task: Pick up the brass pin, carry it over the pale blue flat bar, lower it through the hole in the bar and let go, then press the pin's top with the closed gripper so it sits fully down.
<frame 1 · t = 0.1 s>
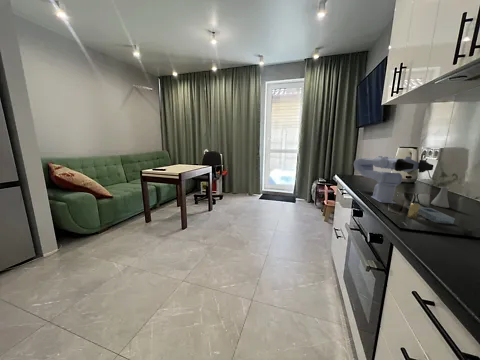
hand: (422, 166, 84), 22 cm above the counter, tool horizontal, fingers open, 7 cm apart
pale blue flat bar: (428, 215, 90), on the counter
flask: (439, 206, 105), on the counter
brass pin: (411, 217, 86), on the counter
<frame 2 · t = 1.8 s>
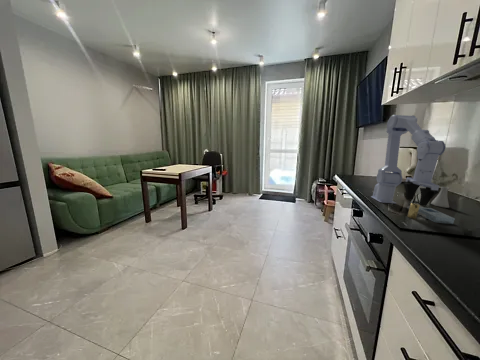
hand: (415, 202, 84), 7 cm above the counter, tool pointing down, fingers open, 7 cm apart
nothing on the counter moved.
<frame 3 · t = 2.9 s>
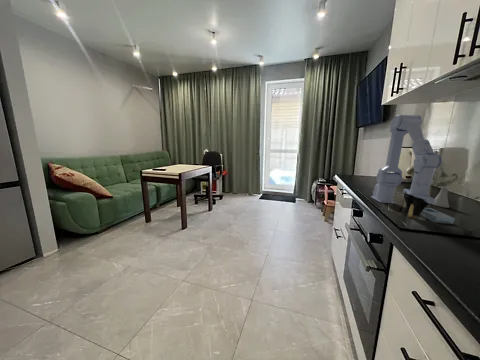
hand: (412, 213, 86), 2 cm above the counter, tool pointing down, fingers closed on brass pin, 3 cm apart
brass pin: (411, 217, 86), on the counter, touching gripper
everything else where it was.
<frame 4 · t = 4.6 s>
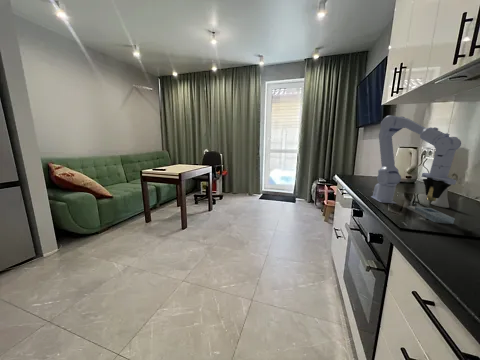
hand: (432, 196, 87), 9 cm above the counter, tool pointing down, fingers closed on brass pin, 3 cm apart
brass pin: (430, 200, 88), point 7 cm above the counter, touching gripper
everything else where it was.
when the fingers open (3 cm above the counter, at t = 6.1 s): brass pin drops 2 cm, resting in pale blue flat bar.
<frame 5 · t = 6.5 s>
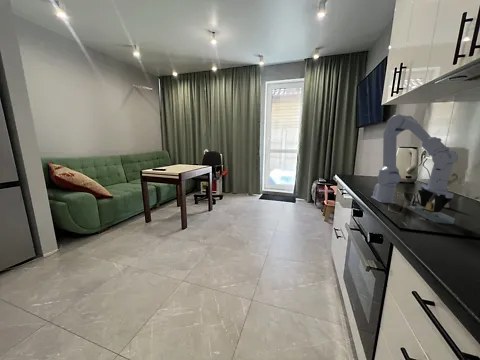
hand: (429, 208, 89), 3 cm above the counter, tool pointing down, fingers open, 6 cm apart
brass pin: (427, 215, 90), resting in pale blue flat bar
everything else where it was.
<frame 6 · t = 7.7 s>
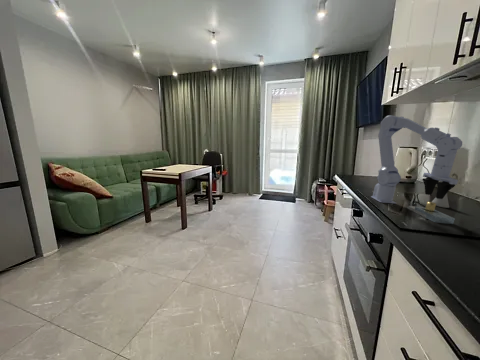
hand: (433, 196, 88), 9 cm above the counter, tool pointing down, fingers open, 5 cm apart
nothing on the counter moved.
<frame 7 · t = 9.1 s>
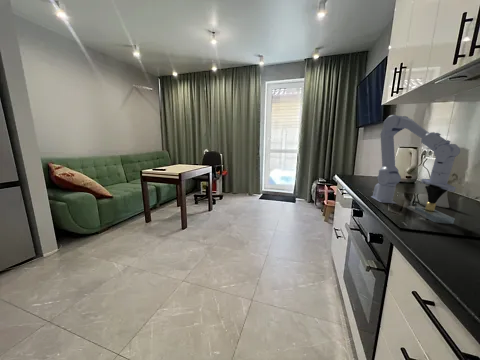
hand: (431, 202, 88), 6 cm above the counter, tool pointing down, fingers closed
nothing on the counter moved.
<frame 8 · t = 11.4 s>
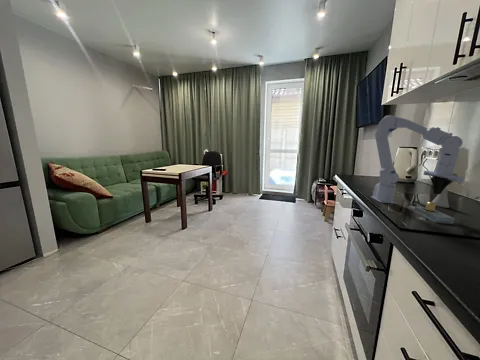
hand: (436, 193, 90), 9 cm above the counter, tool pointing down, fingers closed
nothing on the counter moved.
at the end: brass pin 0.0 cm from the pale blue flat bar (horizontally); brass pin resting in pale blue flat bar; brass pin tilted 0° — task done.
